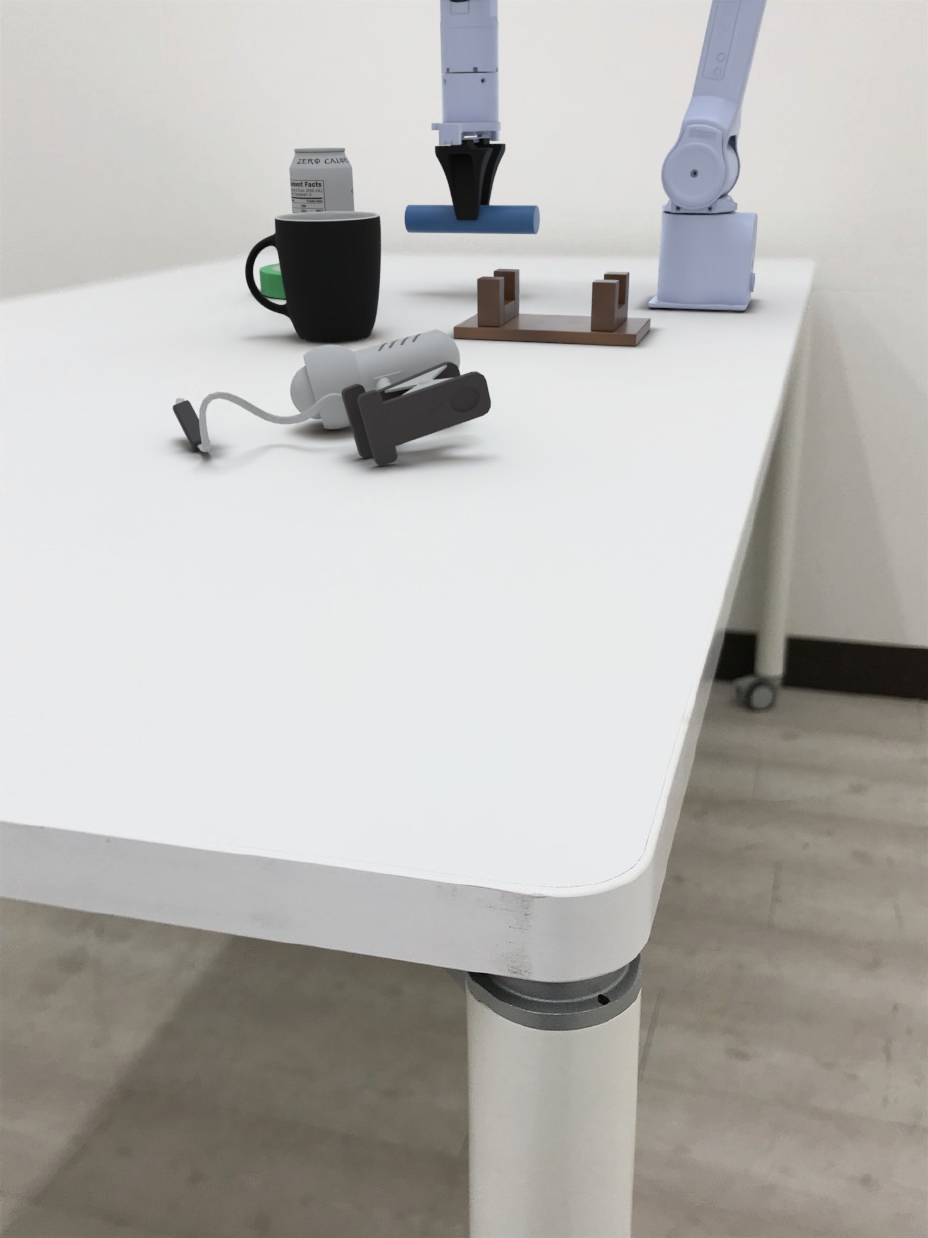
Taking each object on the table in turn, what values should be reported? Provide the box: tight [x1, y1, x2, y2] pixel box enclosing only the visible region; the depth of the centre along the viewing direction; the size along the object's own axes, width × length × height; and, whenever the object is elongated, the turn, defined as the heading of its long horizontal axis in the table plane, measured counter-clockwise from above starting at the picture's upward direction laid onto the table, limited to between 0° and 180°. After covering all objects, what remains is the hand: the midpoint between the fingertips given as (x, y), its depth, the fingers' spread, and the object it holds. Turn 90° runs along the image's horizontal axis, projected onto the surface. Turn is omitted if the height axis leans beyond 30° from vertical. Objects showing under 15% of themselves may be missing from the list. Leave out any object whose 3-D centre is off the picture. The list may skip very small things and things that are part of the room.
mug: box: [244, 211, 382, 344], centre depth 96 cm, size 12×9×10 cm
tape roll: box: [258, 262, 286, 300], centre depth 123 cm, size 11×11×3 cm
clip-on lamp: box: [172, 329, 492, 467], centre depth 65 cm, size 12×6×18 cm
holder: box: [453, 268, 652, 347], centre depth 97 cm, size 16×8×5 cm, turn 73°
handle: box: [404, 204, 541, 235], centre depth 116 cm, size 14×3×3 cm, turn 73°
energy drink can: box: [288, 147, 355, 214], centre depth 109 cm, size 6×6×15 cm
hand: (471, 218), depth 116 cm, fingers closed on handle, 3 cm apart
